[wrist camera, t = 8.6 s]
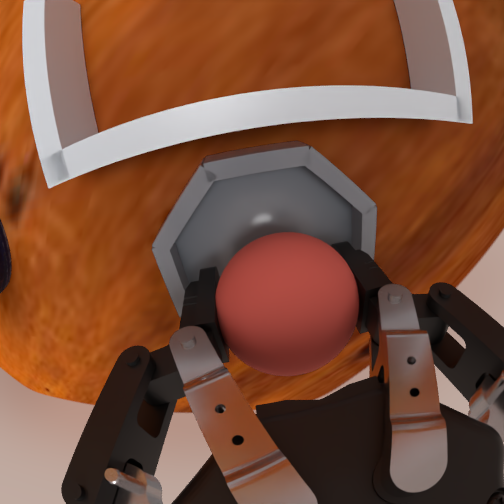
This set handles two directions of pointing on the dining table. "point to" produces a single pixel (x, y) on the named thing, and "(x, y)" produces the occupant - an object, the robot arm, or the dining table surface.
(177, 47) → the dining table surface
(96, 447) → the robot arm
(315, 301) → the ball
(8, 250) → the dark blue ridged cylinder
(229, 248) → the dish
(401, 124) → the dining table surface
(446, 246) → the dining table surface
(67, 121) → the white u-shaped bracket
